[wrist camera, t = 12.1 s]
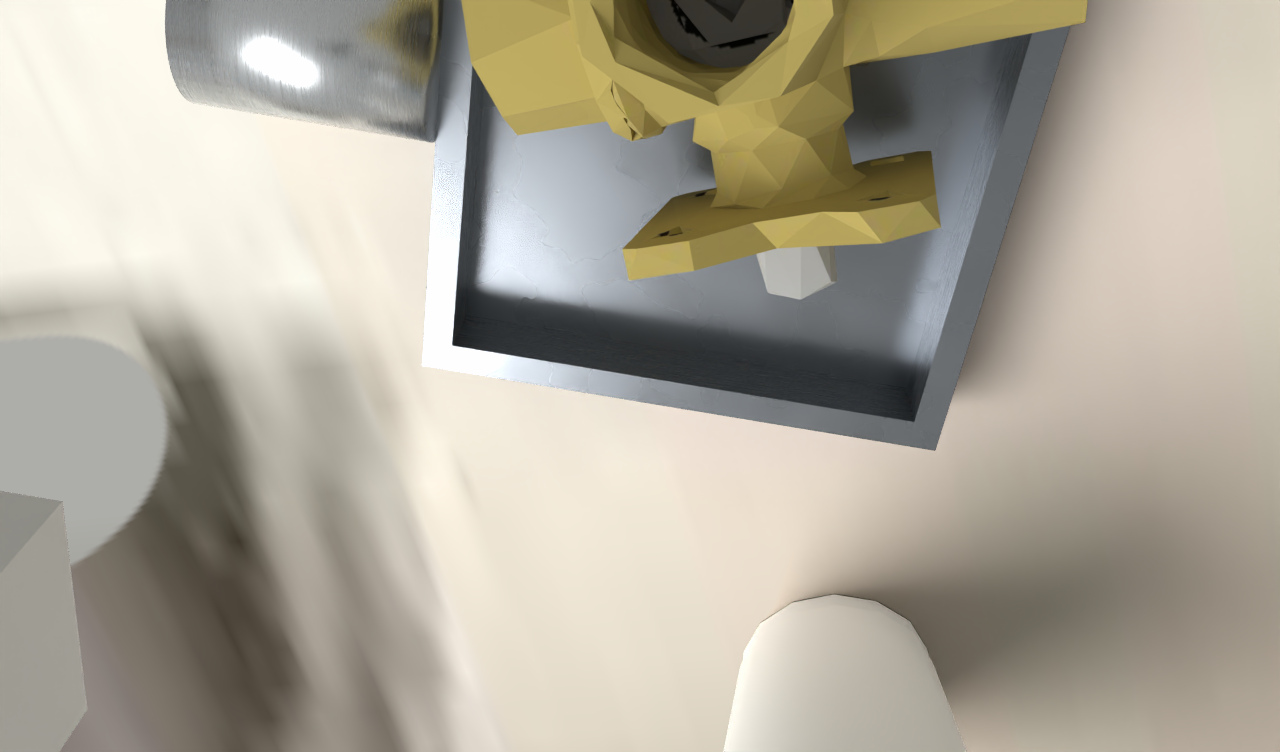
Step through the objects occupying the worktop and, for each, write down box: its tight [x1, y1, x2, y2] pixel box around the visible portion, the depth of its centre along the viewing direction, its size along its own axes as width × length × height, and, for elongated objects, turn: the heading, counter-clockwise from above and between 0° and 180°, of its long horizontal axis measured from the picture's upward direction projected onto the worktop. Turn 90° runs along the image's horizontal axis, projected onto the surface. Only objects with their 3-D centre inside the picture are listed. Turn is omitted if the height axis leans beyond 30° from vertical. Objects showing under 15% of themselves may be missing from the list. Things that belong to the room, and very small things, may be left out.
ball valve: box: [461, 0, 1088, 300], centre depth 25 cm, size 13×10×10 cm
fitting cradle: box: [165, 0, 1071, 451], centre depth 30 cm, size 21×18×4 cm
